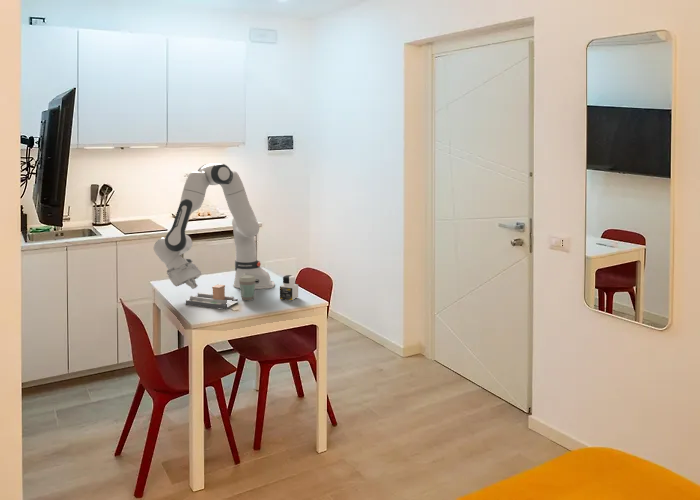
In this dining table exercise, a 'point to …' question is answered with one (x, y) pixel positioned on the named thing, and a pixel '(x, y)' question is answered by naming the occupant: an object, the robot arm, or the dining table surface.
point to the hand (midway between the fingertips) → (195, 287)
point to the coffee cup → (247, 286)
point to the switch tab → (219, 292)
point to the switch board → (209, 301)
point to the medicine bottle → (288, 288)
